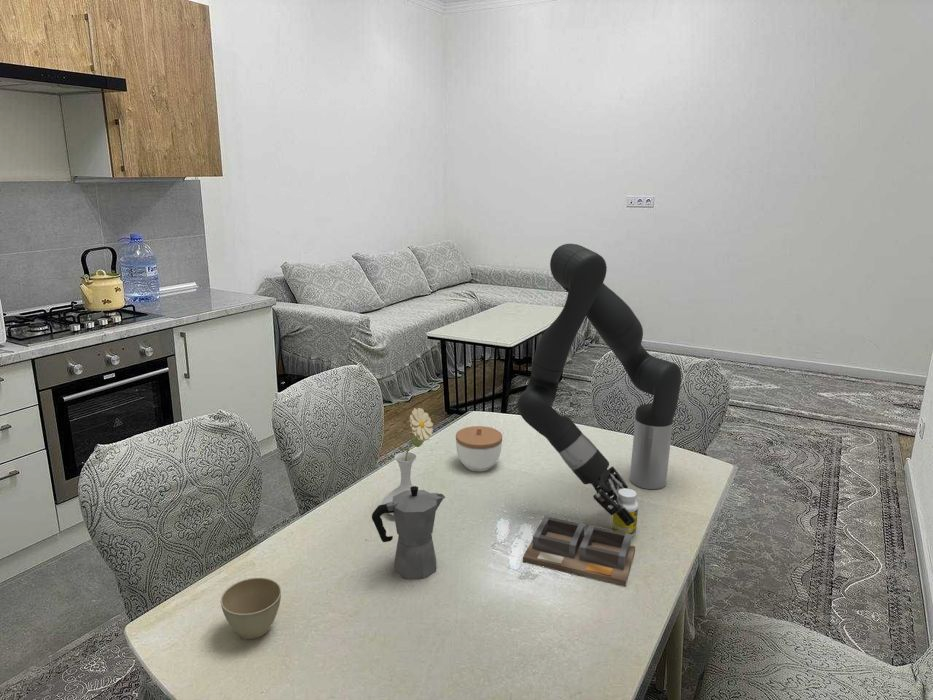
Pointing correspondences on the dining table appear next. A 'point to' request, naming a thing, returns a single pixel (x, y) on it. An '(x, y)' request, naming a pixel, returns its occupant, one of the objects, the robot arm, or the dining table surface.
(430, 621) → the dining table surface
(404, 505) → the coffeepot
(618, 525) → the supplement bottle
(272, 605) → the beige bowl
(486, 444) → the lidded bowl
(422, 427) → the flower in vase
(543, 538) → the socket board
